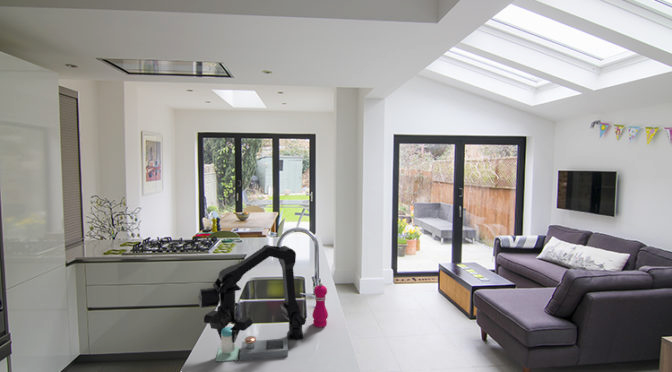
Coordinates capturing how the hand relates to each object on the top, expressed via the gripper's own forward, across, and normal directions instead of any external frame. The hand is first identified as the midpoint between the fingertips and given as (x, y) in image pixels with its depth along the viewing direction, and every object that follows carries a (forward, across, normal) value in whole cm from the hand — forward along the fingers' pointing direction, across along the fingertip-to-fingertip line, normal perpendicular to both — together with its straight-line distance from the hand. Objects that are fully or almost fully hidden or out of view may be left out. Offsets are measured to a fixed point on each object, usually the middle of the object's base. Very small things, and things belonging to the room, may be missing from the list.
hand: (228, 341), depth 137 cm
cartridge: (+3, 0, 0) cm, 3 cm away
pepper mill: (+6, +24, +37) cm, 44 cm away
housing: (+6, +12, +7) cm, 15 cm away
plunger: (+5, +7, +4) cm, 10 cm away
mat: (+6, 0, 0) cm, 6 cm away
